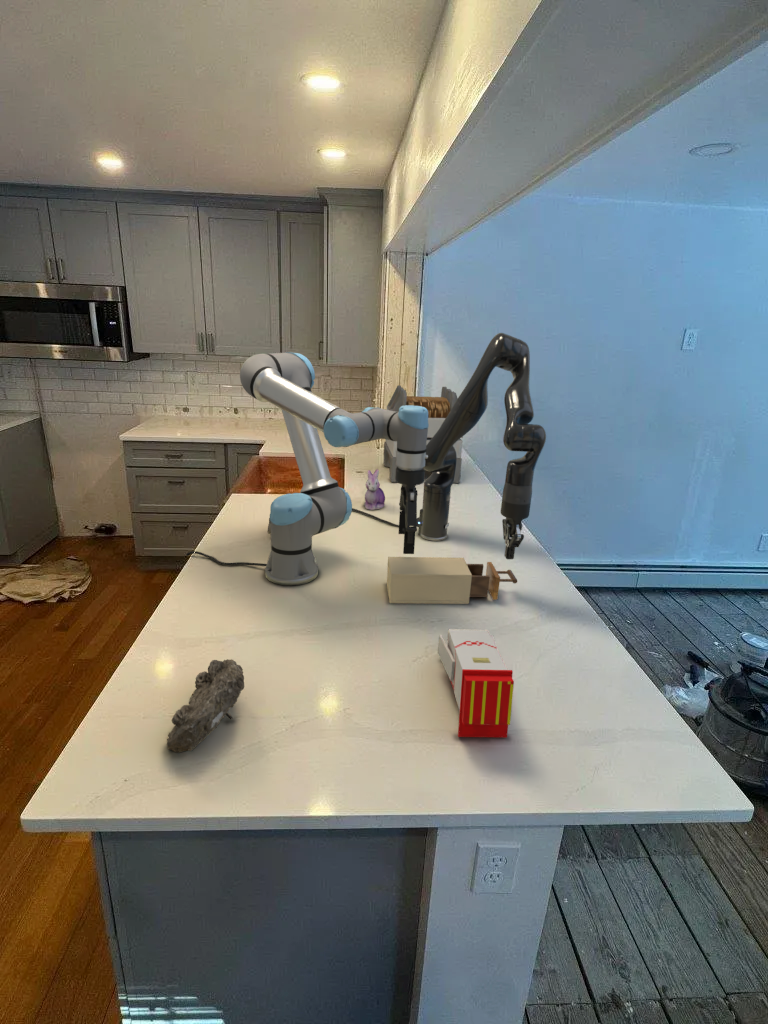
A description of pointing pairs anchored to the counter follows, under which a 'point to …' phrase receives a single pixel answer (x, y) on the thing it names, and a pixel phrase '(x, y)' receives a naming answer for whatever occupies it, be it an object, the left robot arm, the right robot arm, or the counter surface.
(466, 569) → the cabinet
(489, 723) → the toy
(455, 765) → the counter surface
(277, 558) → the left robot arm
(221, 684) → the fossil
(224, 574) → the counter surface
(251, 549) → the counter surface
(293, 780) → the counter surface
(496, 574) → the drawer
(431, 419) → the transformer
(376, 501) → the figurine
